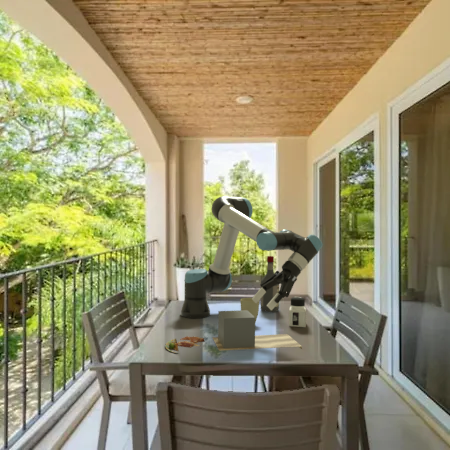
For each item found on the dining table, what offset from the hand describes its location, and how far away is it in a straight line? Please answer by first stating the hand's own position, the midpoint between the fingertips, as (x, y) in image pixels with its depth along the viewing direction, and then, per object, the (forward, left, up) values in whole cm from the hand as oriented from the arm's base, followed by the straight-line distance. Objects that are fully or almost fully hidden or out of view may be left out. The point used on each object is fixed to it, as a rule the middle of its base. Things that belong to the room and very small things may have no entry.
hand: (261, 304), depth 151 cm
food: (-1, -29, -16) cm, 33 cm away
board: (+2, -3, -16) cm, 16 cm away
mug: (-29, +2, -16) cm, 33 cm away
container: (-25, +25, -16) cm, 39 cm away
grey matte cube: (+2, -11, -14) cm, 18 cm away
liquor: (-56, +21, -16) cm, 62 cm away
